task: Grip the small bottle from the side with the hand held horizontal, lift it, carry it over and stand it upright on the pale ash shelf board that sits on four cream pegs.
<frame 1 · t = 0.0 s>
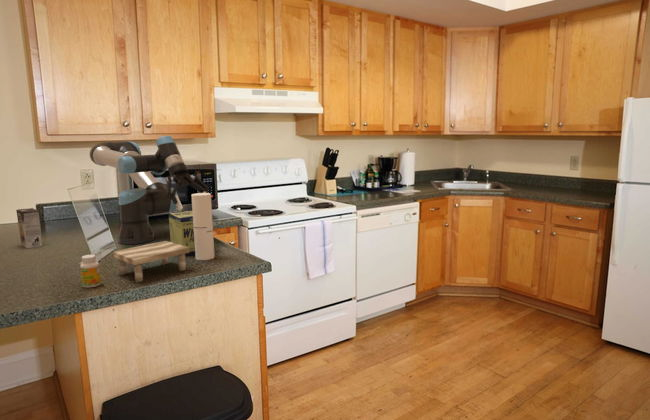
hand: (195, 207, 193), 16 cm above the worktop, tool tilted 40°, fingers open, 13 cm apart
coffee box: (32, 246, 200), on the worktop
supplement bottle: (91, 285, 147), on the worktop
protein box: (189, 251, 188), on the worktop, touching gripper
cylindrical container: (205, 258, 177), on the worktop
peg shelf: (153, 271, 160), on the worktop
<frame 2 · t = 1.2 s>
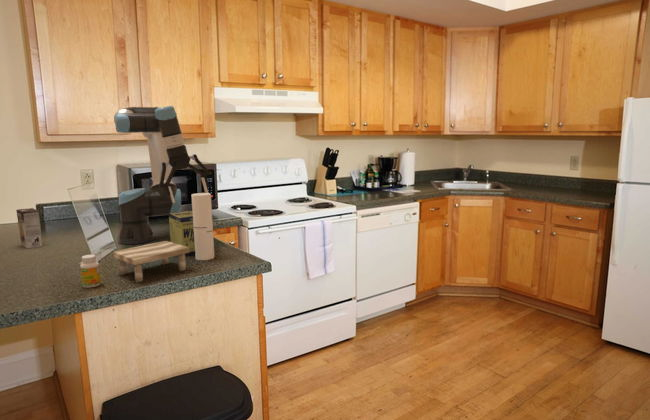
hand: (190, 197, 184), 22 cm above the worktop, tool pointing down, fingers open, 13 cm apart
protein box: (189, 251, 188), on the worktop
everything else where it was.
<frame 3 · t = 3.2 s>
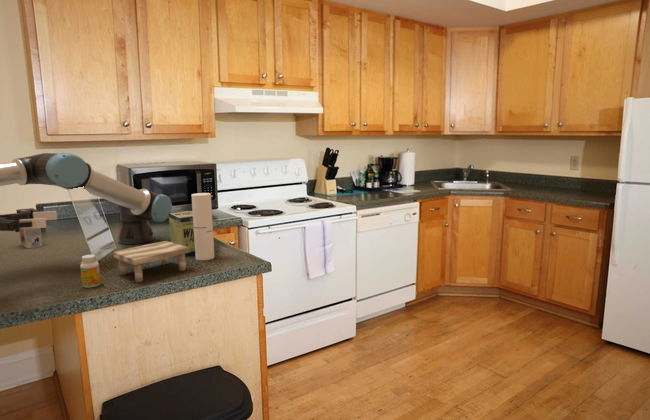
hand: (51, 218, 140), 23 cm above the worktop, tool horizontal, fingers open, 13 cm apart
nothing on the worktop moved.
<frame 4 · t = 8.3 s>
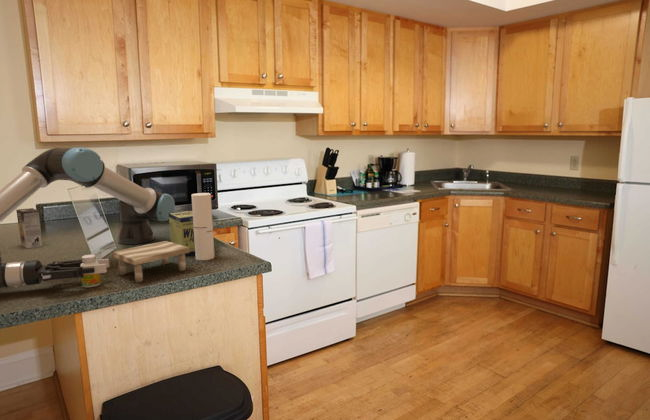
hand: (107, 265, 147), 6 cm above the worktop, tool horizontal, fingers closed on supplement bottle, 5 cm apart
supplement bottle: (91, 285, 147), on the worktop, touching gripper
everything else where it was.
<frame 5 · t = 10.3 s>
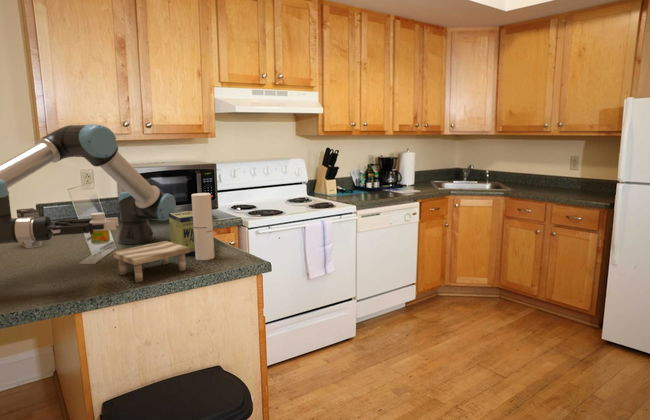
hand: (116, 223, 147), 20 cm above the worktop, tool horizontal, fingers closed on supplement bottle, 5 cm apart
supplement bottle: (100, 243, 146), point 13 cm above the worktop, touching gripper
everything else where it was.
when the fingers open (15 cm above the worktop, at t = 12.5 s): supplement bottle drops 1 cm, resting on peg shelf.
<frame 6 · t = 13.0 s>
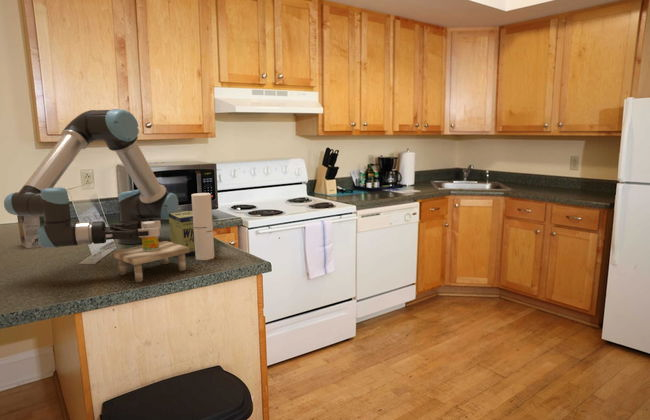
hand: (160, 227, 158), 16 cm above the worktop, tool horizontal, fingers open, 12 cm apart
supplement bottle: (151, 250, 159), point 8 cm above the worktop, touching peg shelf
everything else where it was.
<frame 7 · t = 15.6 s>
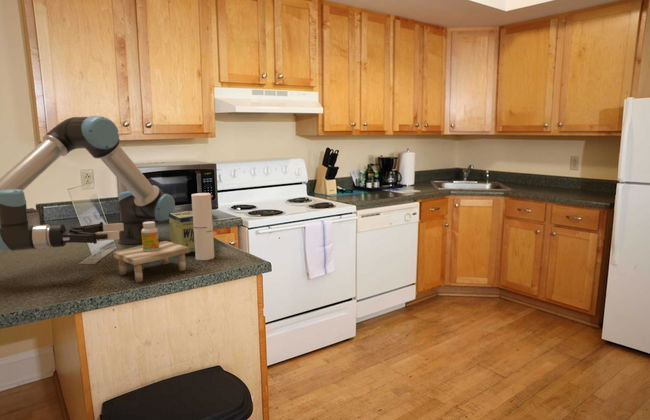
hand: (121, 230, 154), 16 cm above the worktop, tool horizontal, fingers open, 13 cm apart
nothing on the worktop moved.
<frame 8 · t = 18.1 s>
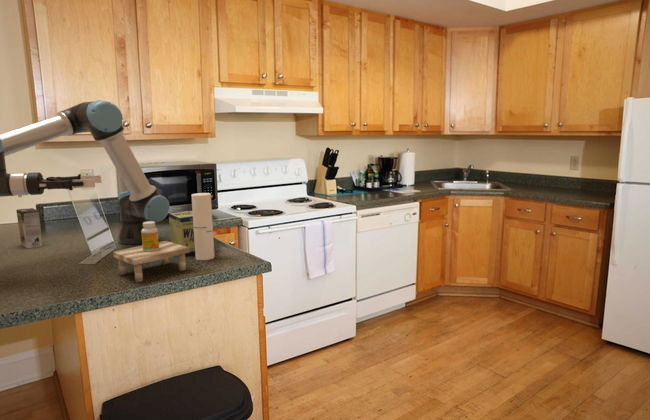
hand: (98, 180, 158), 32 cm above the worktop, tool horizontal, fingers open, 13 cm apart
nothing on the worktop moved.
at the end: supplement bottle inside the target area on the peg shelf (0.1 cm from its centre), point 7.8 cm above the peg shelf's base; supplement bottle tilted 0°; the gripper is holding nothing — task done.
